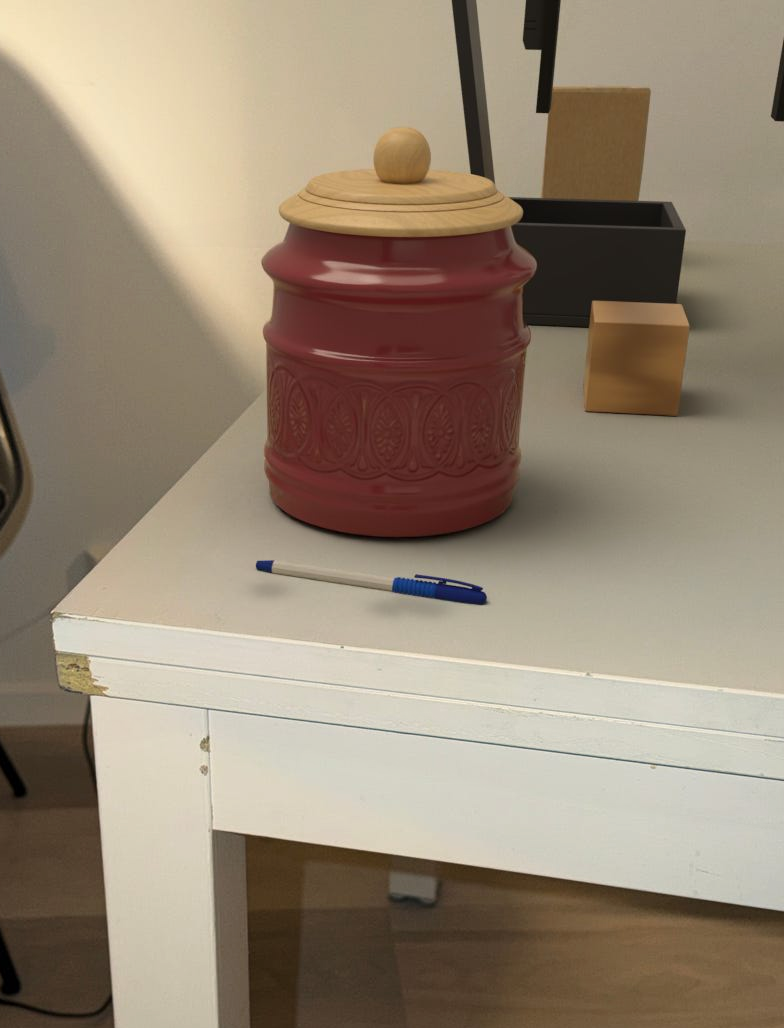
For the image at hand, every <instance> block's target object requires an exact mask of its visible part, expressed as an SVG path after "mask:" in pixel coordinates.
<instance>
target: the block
mask: <svg viewBox="0 0 784 1028" xmlns="http://www.w3.org/2000/svg"><path fill="white" fill-rule="evenodd" d="M684 309H685V308H684V307H683V303H682V304H681V303H676V304H665V303H640V302H616V301H592V304H591V314H590V324H589V327H588V333H587V343H586V354H585V363H584V373H583V374H584V375H583V383H582V388H583V401H584V403H583V404H584V411H585V412H591V413H592V412H595V413H613V414H630V415H631V414H632V415H652V416H668V417H669V416H672V417H677V416H678V415H679V407H680V401H681V393H682V387H683V380H684V379H683V378H684V372H685V366H686V357H687V351H688V350H687V349H688V343H689V336H690V329H691V326H690V323H689V320H688V317H687V314H686V312H685V310H684Z"/></svg>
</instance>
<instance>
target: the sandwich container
mask: <svg viewBox="0 0 784 1028" xmlns="http://www.w3.org/2000/svg"><path fill="white" fill-rule="evenodd" d="M651 94H652V90H651V88H650V87H649V86H627V85H626V86H623V85H572V86H571V85H568V86H567V85H566V86H563V85H562V86H561V85H560V86H553V90H552V101H551V110H550V112H549V113H547V123H546V124H547V125H546V134H545V147H544V158H543V159H544V160H543V169H542V170H543V171H542V183H541V193H540V194H541V195H540V198H559V199H593V200H628V201H640V200H639V199H640V192H641V186H642V185H641V184H642V178H643V172H644V171H643V170H644V162H645V151H646V141H647V134H648V133H647V132H648V123H649V113H650V102H651Z"/></svg>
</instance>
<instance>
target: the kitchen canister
mask: <svg viewBox="0 0 784 1028" xmlns="http://www.w3.org/2000/svg"><path fill="white" fill-rule="evenodd" d="M372 162H373V167H374V168H364V169H363V168H361V169H349V170H340V171H334V172H328V173H323V174H319V175H316V176H314V177H312V178H311V179H310V180H309V181H308V183H307V184H306V186H305V187H303V188H302V189H301V190H300V191H298V192H296V193H294V194H293V195H292V196H289V197H287V198H286V199H285V200H284V201H283V202H281V203H280V205H279V206H278V214H279V215H280V217H281V218H282V219H283V220H284V221H286V222H288V223H289V224H288V226H287V229H286V232H285V235H284V237H283V239H282V240H279V242H277V243H275V244H274V245H273V246H271V247H270V248H268V249H267V250H266V251H265V253H264V254H263V255H262V257H261V261H260V262H261V267H262V269H263V271H264V272H265V274H266V275H267V276H268V277H269V278H270V280H271V281H272V285H273V289H272V290H273V292H272V304H271V305H272V307H271V315H270V317H269V318H268V319H267V320H266V321H265V323H264V325H263V328H262V336H263V339H264V341H265V348H266V350H265V351H266V353H265V355H266V357H265V361H266V363H265V364H266V424H267V425H266V432H267V433H266V440H265V443H264V447H263V455H264V465H263V467H264V469H263V470H264V473H265V476H266V479H267V481H268V487H269V495H270V497H271V499H272V501H273V502H274V504H276V506H278V508H280V509H281V510H283V511H284V512H285V513H286V514H288V515H290V516H292V517H293V518H295V519H297V520H299V521H301V522H304V523H307V524H309V525H313V526H316V527H319V528H323V529H325V530H330V531H333V532H334V531H335V532H339V533H345V534H350V535H359V536H367V537H368V536H369V537H379V538H416V537H417V538H419V537H429V536H430V537H431V536H438V535H445V534H450V533H451V534H452V533H456V532H461V531H466V530H468V529H472V528H475V527H478V526H481V525H483V524H486V523H488V522H489V521H492V520H493V519H495V518H496V517H498V516H500V515H502V514H503V513H504V512H505V511H506V510H507V509H508V508H509V507H510V506H511V504H512V502H513V499H514V492H515V488H516V486H517V484H518V482H519V480H520V476H521V466H520V465H521V462H522V457H523V455H522V450H521V447H520V434H521V422H522V409H523V398H524V397H523V396H524V385H525V373H526V362H527V361H526V360H527V359H526V358H527V349H528V347H529V345H530V343H531V341H532V333H531V329H530V328H529V327H530V326H528V325H526V324H525V323H524V322H523V288H524V285H525V284H526V283H527V282H528V281H529V280H530V279H531V278H532V276H533V275H534V274H535V272H536V270H537V262H536V260H535V258H534V257H533V255H532V254H530V253H529V252H528V251H527V250H526V249H524V248H523V247H522V246H520V245H519V244H517V243H516V241H515V238H514V235H513V231H512V228H511V226H512V225H514V224H516V223H517V222H519V221H520V219H521V218H522V216H523V209H522V208H521V206H520V205H518V204H517V203H516V202H514V201H513V200H511V199H510V198H508V197H509V196H507V195H505V194H504V193H503V192H501V191H500V190H499V189H498V188H497V186H496V184H495V185H494V183H493V182H492V181H491V180H489V179H487V178H484V177H481V176H477V175H473V174H471V173H466V172H460V171H451V170H444V169H443V170H441V169H430V168H431V162H432V153H431V147H430V145H429V142H428V140H427V138H426V137H425V135H424V134H423V133H422V132H421V131H419V130H418V129H416V128H413V127H410V126H409V127H407V126H397V127H392V128H390V129H388V130H386V131H384V132H383V134H382V135H381V136H380V137H379V138H378V140H377V142H376V144H375V146H374V150H373V161H372Z"/></svg>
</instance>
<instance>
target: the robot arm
mask: <svg viewBox="0 0 784 1028" xmlns="http://www.w3.org/2000/svg"><path fill="white" fill-rule="evenodd" d="M561 3H562V0H525V7H524V17H523V18H524V19H523V29H522V31H523V32H522V43H523V47H524V50H526V51H540V60H539V71H538V82H537V94H536V103H535V104H536V105H535V114H548V113H549V112H550V110H551V101H552V90H553V87H554V78H555V68H556V56H557V47H558V46H557V45H558V35H559V24H560V14H561V5H562V4H561ZM782 39H783V40H782V47H781V52H780V57H779V65H778V70H777V76H776V82H775V89H774V93H773V94H774V95H773V101H772V106H771V112H770V117H771V119H773V121H774V122H784V38H782Z"/></svg>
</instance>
